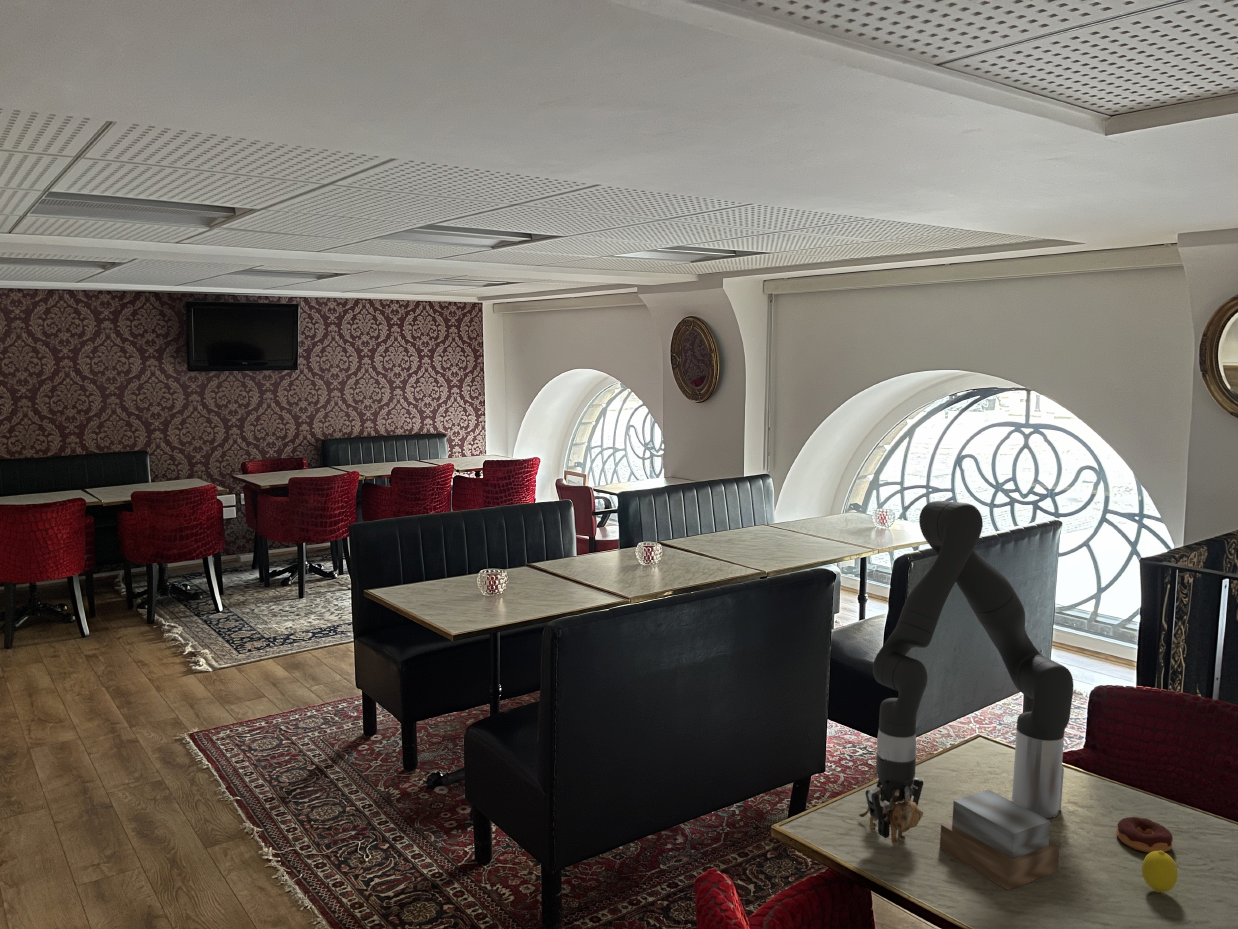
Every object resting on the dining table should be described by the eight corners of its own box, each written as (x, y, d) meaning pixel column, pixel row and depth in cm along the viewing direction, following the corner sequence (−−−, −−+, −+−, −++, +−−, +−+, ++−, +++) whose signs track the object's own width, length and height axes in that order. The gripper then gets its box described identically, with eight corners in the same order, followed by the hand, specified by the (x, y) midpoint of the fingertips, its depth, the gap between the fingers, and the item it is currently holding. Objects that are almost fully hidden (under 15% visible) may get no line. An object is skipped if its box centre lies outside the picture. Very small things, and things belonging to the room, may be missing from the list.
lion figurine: (926, 845, 180) (927, 802, 178) (908, 854, 177) (910, 810, 175) (867, 814, 192) (868, 774, 190) (850, 822, 189) (851, 781, 187)
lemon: (1133, 884, 168) (1137, 843, 167) (1161, 883, 169) (1165, 842, 168) (1153, 902, 163) (1157, 860, 162) (1182, 900, 163) (1186, 859, 162)
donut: (1119, 825, 189) (1120, 807, 189) (1174, 840, 184) (1175, 822, 183) (1112, 846, 181) (1113, 827, 181) (1169, 863, 176) (1171, 843, 175)
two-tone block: (988, 831, 186) (991, 785, 185) (1058, 870, 172) (1061, 821, 171) (939, 848, 180) (942, 800, 178) (1008, 890, 166) (1011, 839, 164)
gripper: (908, 738, 187) (904, 816, 189) (855, 752, 180) (852, 833, 183) (936, 752, 181) (932, 833, 183) (883, 767, 174) (880, 851, 176)
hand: (892, 832), depth 183 cm, fingers closed on lion figurine, 4 cm apart
